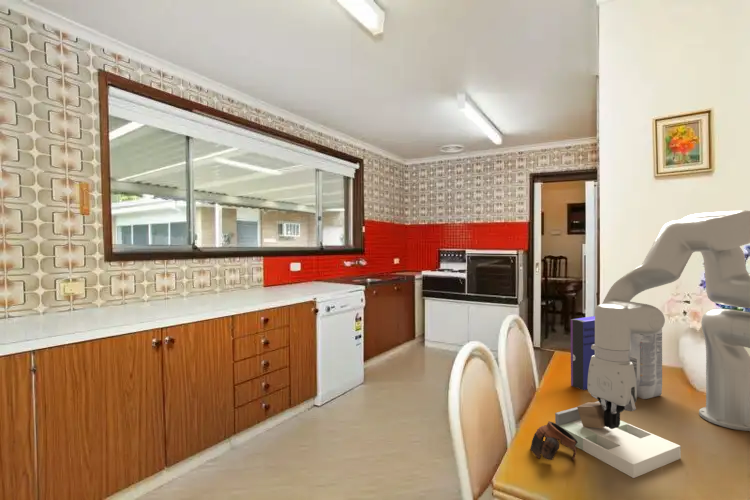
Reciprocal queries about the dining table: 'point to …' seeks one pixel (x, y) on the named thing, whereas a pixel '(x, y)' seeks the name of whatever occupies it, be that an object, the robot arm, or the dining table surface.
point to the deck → (620, 444)
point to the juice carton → (647, 363)
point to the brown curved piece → (551, 441)
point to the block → (592, 415)
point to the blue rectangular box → (581, 350)
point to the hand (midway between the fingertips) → (612, 426)
